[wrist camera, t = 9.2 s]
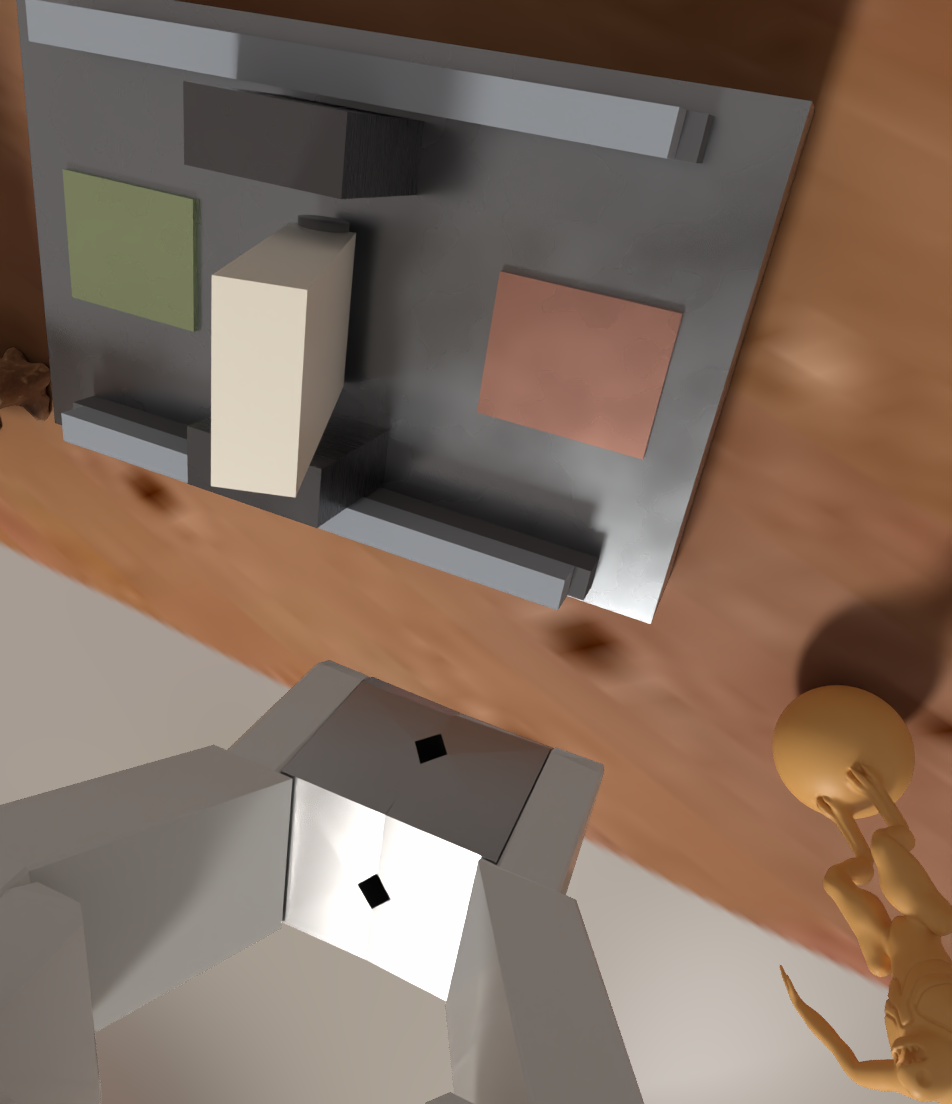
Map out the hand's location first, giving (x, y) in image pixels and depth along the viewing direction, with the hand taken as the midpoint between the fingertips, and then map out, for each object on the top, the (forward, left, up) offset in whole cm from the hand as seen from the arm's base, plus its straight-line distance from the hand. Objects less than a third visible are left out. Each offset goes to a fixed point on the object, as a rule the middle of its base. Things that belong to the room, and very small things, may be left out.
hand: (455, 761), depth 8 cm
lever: (+11, 0, -15) cm, 18 cm away
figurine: (-8, +10, -19) cm, 23 cm away
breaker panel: (+11, 0, -19) cm, 22 cm away
